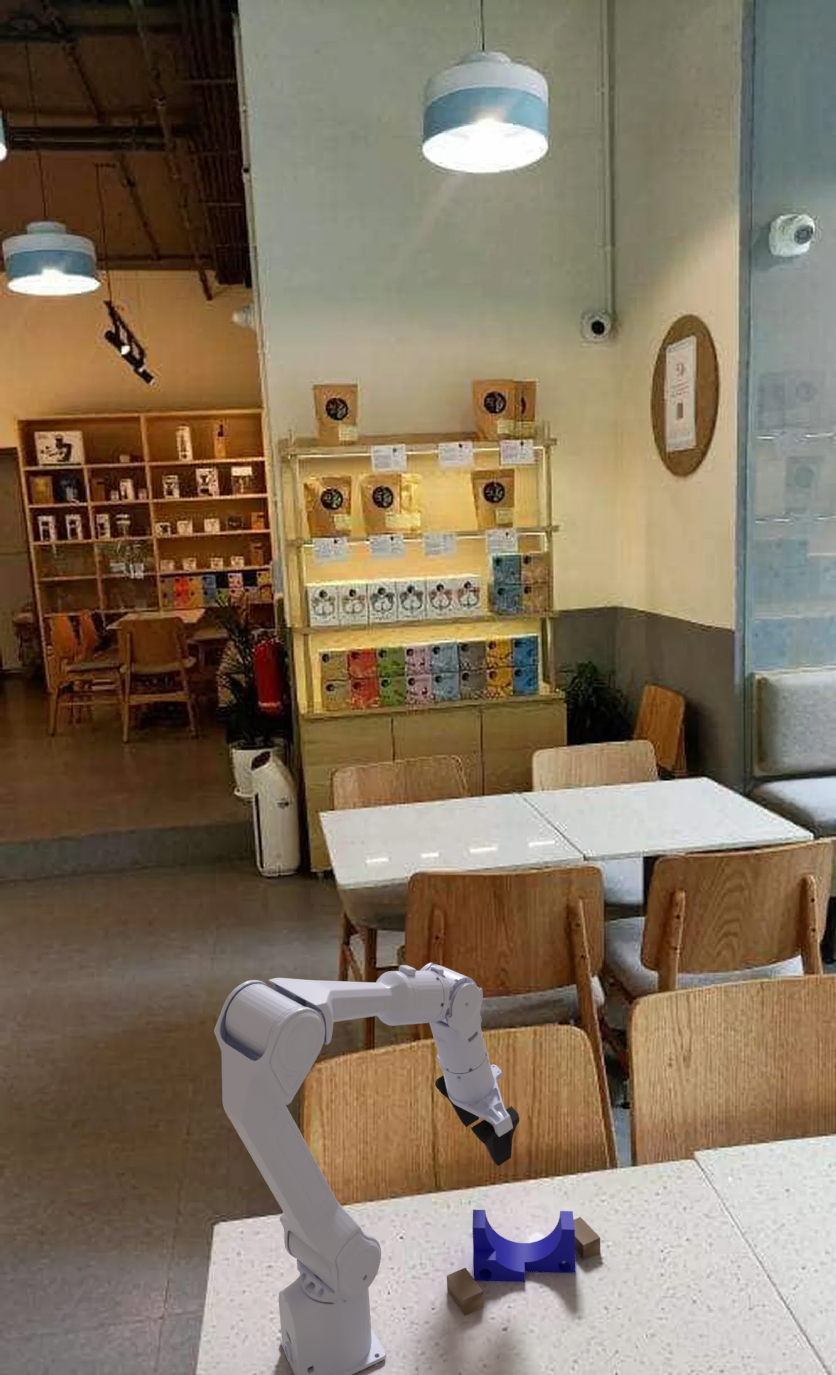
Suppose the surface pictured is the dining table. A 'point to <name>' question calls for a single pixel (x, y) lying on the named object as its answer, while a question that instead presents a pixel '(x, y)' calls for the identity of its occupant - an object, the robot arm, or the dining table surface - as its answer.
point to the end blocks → (472, 1295)
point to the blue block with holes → (521, 1251)
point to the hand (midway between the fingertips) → (486, 1140)
